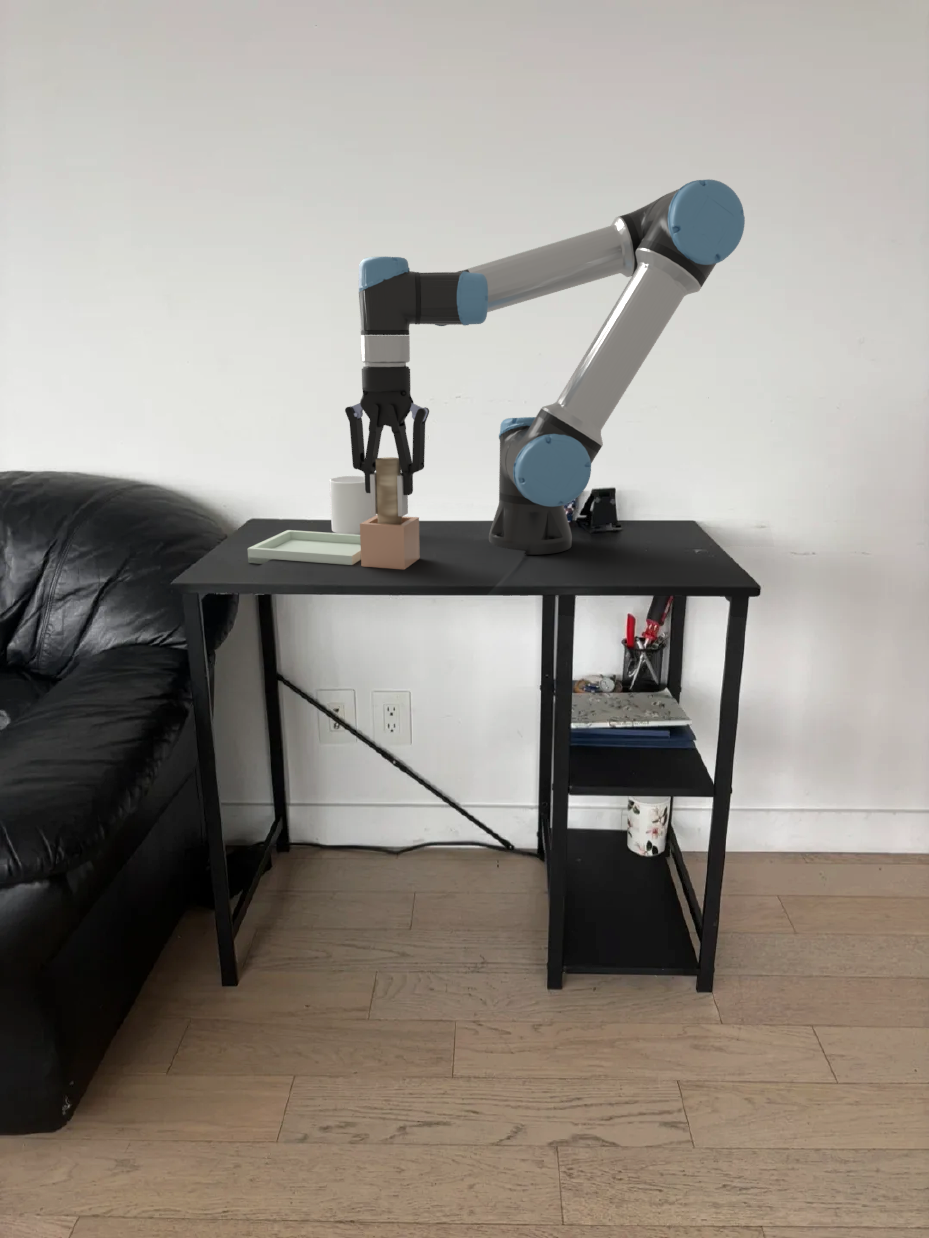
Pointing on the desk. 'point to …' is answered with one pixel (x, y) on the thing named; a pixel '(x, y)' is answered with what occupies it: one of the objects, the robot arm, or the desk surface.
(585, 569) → the desk surface
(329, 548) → the tray
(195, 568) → the desk surface
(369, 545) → the planter
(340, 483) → the mug
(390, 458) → the dowel
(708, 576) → the desk surface
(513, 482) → the robot arm
